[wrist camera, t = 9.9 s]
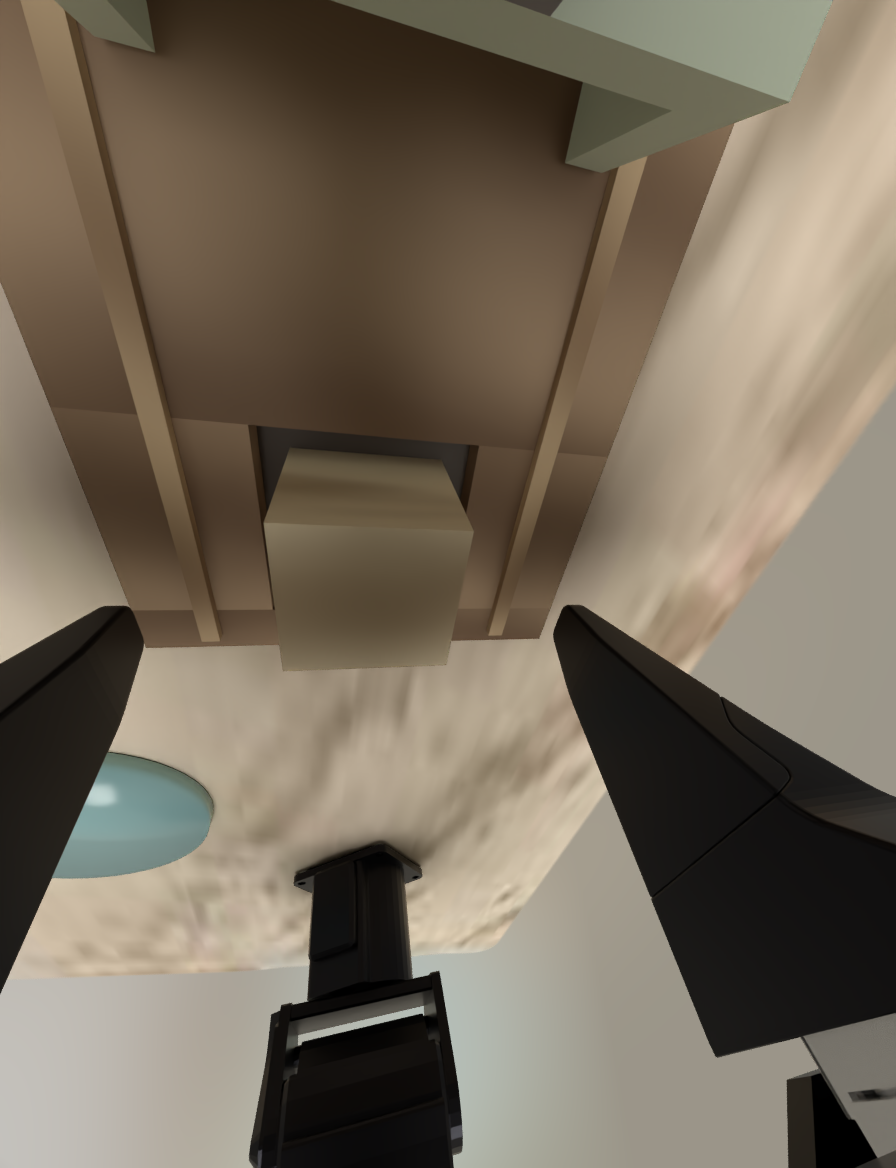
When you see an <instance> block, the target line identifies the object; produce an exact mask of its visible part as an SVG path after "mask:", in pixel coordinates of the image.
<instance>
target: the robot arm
mask: <svg viewBox="0 0 896 1168" xmlns="http://www.w3.org/2000/svg"><path fill="white" fill-rule="evenodd" d="M553 638H554V643H555V646H556V650H557V653H558V657H559V661H560V664H561V668H562V671H563V675H564V678H565V682H566V685H567V689H568V692H569V695H570V698H571V700H572V703H573V706H574V708H575V711H576V713H577V716H578V718H579V721H580V723H581V726H582V728H583V730H584V733H585V735H586V738H587V740H588V743H589V745H590V748H591V750H592V753H593V755H594V758H595V760H596V763H597V765H598V768H599V770H600V773H601V775H602V778H603V780H604V783H605V785H606V788H607V790H608V793H609V795H610V798H611V800H612V803H613V805H614V807H615V810H616V812H617V815H618V817H619V819H620V822H621V825H622V827H623V830H624V832H625V834H626V837H627V840H628V842H629V844H630V847H631V850H632V852H633V855H634V857H635V860H636V862H637V865H638V867H639V869H640V872H641V875H642V877H643V880H644V882H645V884H646V887H647V890H648V892H649V894H650V896H651V897H652V899H651V900H652V903H653V905H654V907H655V910H656V912H657V915H658V917H659V920H660V922H661V925H662V927H663V930H664V932H665V935H666V937H667V940H668V942H669V945H670V947H671V950H672V952H673V955H674V957H675V960H676V962H677V965H678V967H679V969H680V972H681V975H682V977H683V980H684V982H685V984H686V987H687V989H688V992H689V994H690V997H691V999H692V1002H693V1004H694V1007H695V1009H696V1012H697V1014H698V1017H699V1019H700V1022H701V1024H702V1026H703V1029H704V1032H705V1034H706V1037H707V1039H708V1041H709V1044H710V1046H711V1048H712V1050H713V1052H714V1054H715V1056H716V1057H717V1058H718V1057H722V1056H726V1055H730V1054H733V1053H738V1052H742V1051H746V1050H750V1049H754V1048H758V1047H762V1046H766V1045H770V1044H774V1043H778V1042H782V1041H786V1040H790V1039H794V1038H798V1037H801V1039H802V1041H803V1043H804V1045H805V1046H806V1048H807V1050H808V1051H809V1053H810V1055H811V1057H812V1059H813V1060H814V1062H815V1063H816V1065H817V1067H818V1069H817V1070H814V1071H811V1072H809V1073H805V1074H802V1075H799V1076H796V1077H794V1078H791V1079H788V1080H787V1116H788V1117H787V1118H788V1164H789V1165H788V1167H789V1168H896V797H894V796H892V795H889V794H887V793H885V792H883V791H880V790H878V789H876V788H874V787H873V786H871V785H869V784H867V783H865V782H863V781H862V780H860V779H858V778H857V777H855V776H853V775H851V774H850V773H848V772H846V771H845V770H843V769H841V768H839V767H837V766H836V765H834V764H832V763H831V762H829V761H827V760H826V759H824V758H822V757H820V756H819V755H817V754H815V753H813V752H812V751H810V750H808V749H807V748H805V747H803V746H802V745H800V744H798V743H796V742H795V741H793V740H791V739H790V738H788V737H786V736H785V735H783V734H781V733H779V732H778V731H776V730H774V729H773V728H771V727H769V726H768V725H766V724H764V723H763V722H761V721H760V720H758V719H757V718H755V717H753V716H752V715H750V714H748V713H747V712H745V711H744V710H742V709H741V708H739V707H737V706H736V705H735V704H733V703H732V702H730V701H728V700H727V699H725V698H724V697H720V696H719V694H718V693H716V692H715V691H713V690H711V689H710V688H708V687H707V686H705V685H704V684H702V683H701V682H699V681H698V680H696V679H694V678H693V677H691V676H690V675H688V674H687V673H685V672H684V671H682V670H681V669H679V668H678V667H676V666H675V665H673V664H672V663H670V662H669V661H667V660H665V659H664V658H662V657H661V656H659V655H658V654H656V653H655V652H653V651H652V650H650V649H649V648H647V647H645V646H644V645H642V644H641V643H639V642H638V641H636V640H635V639H633V638H632V637H630V636H629V635H627V634H626V633H624V632H622V631H621V630H619V629H618V628H616V627H615V626H613V625H612V624H610V623H609V622H607V621H606V620H604V619H603V618H601V617H599V616H598V615H596V614H595V613H593V612H592V611H590V610H589V609H587V608H586V607H584V606H582V605H566V606H565V607H564V608H563V609H562V611H561V614H560V616H559V619H558V621H557V624H556V626H555V628H554V633H553ZM143 647H144V639H143V635H142V633H141V630H140V628H139V625H138V623H137V620H136V618H135V615H134V613H133V611H132V609H131V608H129V607H127V606H103V607H100V608H98V609H96V610H95V611H93V612H91V613H89V614H87V615H86V616H84V617H82V618H80V619H79V620H77V621H75V622H73V623H71V624H70V625H68V626H66V627H64V628H63V629H61V630H59V631H57V632H56V633H54V634H52V635H50V636H48V637H47V638H45V639H43V640H41V641H40V642H38V643H36V644H34V645H32V646H31V647H29V648H27V649H25V650H24V651H22V652H20V653H18V654H17V655H15V656H13V657H11V658H9V659H8V660H6V661H4V662H2V663H1V664H0V993H1V991H2V989H3V987H4V984H5V982H6V980H7V978H8V975H9V973H10V971H11V969H12V966H13V964H14V962H15V960H16V957H17V955H18V953H19V951H20V948H21V946H22V944H23V942H24V939H25V937H26V935H27V933H28V930H29V928H30V926H31V924H32V921H33V919H34V917H35V915H36V912H37V910H38V908H39V906H40V903H41V901H42V899H43V897H44V894H45V892H46V890H47V888H48V885H49V883H50V881H51V879H52V876H53V874H54V872H55V870H56V867H57V865H58V863H59V861H60V858H61V856H62V854H63V852H64V849H65V847H66V845H67V843H68V840H69V838H70V836H71V834H72V831H73V829H74V827H75V825H76V822H77V820H78V818H79V816H80V813H81V811H82V809H83V807H84V804H85V802H86V800H87V798H88V795H89V793H90V791H91V789H92V786H93V784H94V782H95V780H96V777H97V775H98V773H99V771H100V768H101V766H102V764H103V762H104V759H105V757H106V755H107V753H108V750H109V748H110V746H111V744H112V741H113V739H114V737H115V735H116V732H117V730H118V728H119V725H120V723H121V720H122V717H123V714H124V711H125V708H126V705H127V701H128V698H129V695H130V692H131V688H132V685H133V682H134V678H135V675H136V672H137V668H138V665H139V662H140V658H141V655H142V652H143ZM421 877H422V869H421V868H419V867H418V866H416V865H415V864H414V863H412V862H411V861H409V860H408V859H406V858H405V857H403V856H402V855H400V854H399V853H397V852H396V851H394V850H393V849H391V848H390V847H388V846H387V845H384V844H380V845H375V846H373V847H370V848H367V849H365V850H362V851H359V852H357V853H354V854H351V855H348V856H346V857H343V858H340V859H338V860H335V861H332V862H330V863H327V864H324V865H322V866H319V867H316V868H313V869H311V870H308V871H305V872H303V873H300V874H297V875H296V876H295V877H294V886H296V887H298V888H301V889H303V890H306V891H308V892H311V893H312V908H311V924H310V939H309V954H308V956H309V959H310V965H309V981H308V998H307V1000H308V1002H304V1003H299V1004H294V1005H293V1004H292V1003H288V1004H284V1005H281V1010H280V1011H278V1012H276V1013H274V1014H272V1015H271V1022H270V1031H269V1041H268V1049H267V1057H266V1063H265V1069H264V1075H263V1080H262V1085H261V1091H260V1096H259V1101H258V1107H257V1112H256V1118H255V1123H254V1129H253V1134H252V1139H251V1145H250V1153H249V1161H250V1163H251V1164H252V1166H253V1168H454V1167H453V1155H456V1154H459V1153H461V1152H462V1146H463V1141H462V1139H463V1135H462V1118H461V1107H460V1097H459V1089H458V1081H457V1075H456V1068H455V1063H454V1056H453V1050H452V1045H451V1038H450V1032H449V1026H448V1020H447V1014H446V1008H445V1002H444V996H443V990H442V985H441V978H440V973H439V971H436V972H432V973H430V974H429V975H428V976H423V977H418V978H414V979H413V977H412V976H413V975H412V963H411V951H410V939H409V927H408V915H407V903H406V891H405V884H406V883H409V882H412V881H414V880H417V879H420V878H421ZM420 1006H424V1016H423V1014H418V1015H414V1016H409V1017H405V1018H401V1019H397V1020H392V1021H389V1022H384V1023H380V1024H375V1025H371V1026H367V1027H363V1028H359V1029H354V1030H351V1031H346V1032H342V1033H338V1034H333V1035H330V1036H325V1037H321V1038H317V1039H313V1040H308V1041H304V1042H302V1045H299V1046H298V1035H300V1034H304V1033H309V1032H313V1031H317V1030H322V1029H326V1028H330V1027H335V1026H339V1025H343V1024H347V1023H352V1022H356V1021H360V1020H364V1019H368V1018H373V1017H377V1016H382V1015H386V1014H390V1013H394V1012H398V1011H403V1010H407V1009H412V1008H416V1007H420Z"/></svg>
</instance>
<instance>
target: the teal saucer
mask: <svg viewBox="0 0 896 1168" xmlns="http://www.w3.org/2000/svg"><path fill="white" fill-rule="evenodd" d="M212 815H213V803H212V800H211V798H210V796H209V794H208V793H207V792H206V790H205V789H204V788H203V787H202V786H201V785H199V784H198V783H197V782H196V781H195V780H193V779H191V778H190V777H188V776H187V775H185V774H183V773H181V772H179V771H177V770H175V769H172V768H170V767H167V766H164V765H162V764H159V763H156V762H152V761H149V760H145V759H142V758H137V757H132V756H127V755H122V754H115V753H107V755H106V757H105V759H104V762H103V764H102V766H101V768H100V771H99V773H98V775H97V777H96V780H95V782H94V784H93V786H92V789H91V791H90V793H89V795H88V798H87V800H86V802H85V804H84V807H83V809H82V811H81V813H80V816H79V818H78V820H77V822H76V825H75V827H74V829H73V831H72V834H71V836H70V838H69V840H68V843H67V845H66V847H65V849H64V852H63V854H62V856H61V858H60V861H59V863H58V865H57V867H56V870H55V872H54V874H53V876H52V878H97V877H108V876H118V875H124V874H130V873H136V872H140V871H145V870H149V869H153V868H156V867H160V866H162V865H165V864H168V863H171V862H173V861H176V860H178V859H180V858H182V857H184V856H186V855H187V854H189V853H191V852H192V851H193V850H195V849H196V848H197V847H198V846H199V845H200V844H201V843H202V842H203V841H204V839H205V838H206V836H207V833H208V831H209V827H210V823H211V819H212Z"/></svg>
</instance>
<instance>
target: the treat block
mask: <svg viewBox="0 0 896 1168" xmlns="http://www.w3.org/2000/svg"><path fill="white" fill-rule="evenodd" d="M264 530H265V538H266V545H267V553H268V561H269V568H270V576H271V584H272V591H273V599H274V607H275V614H276V622H277V629H278V637H279V645H280V652H281V660H282V668H283V671H302V670H329V669H355V668H382V667H408V666H435V665H446V663H447V658H448V653H449V648H450V644H451V639H452V634H453V629H454V624H455V620H456V615H457V610H458V605H459V600H460V596H461V591H462V586H463V581H464V576H465V572H466V567H467V562H468V557H469V552H470V548H471V543H472V538H473V533H474V530H473V528H472V526H471V524H470V522H469V519H468V517H467V515H466V513H465V511H464V508H463V506H462V504H461V502H460V500H459V498H458V495H457V493H456V491H455V489H454V487H453V484H452V482H451V480H450V478H449V476H448V473H447V471H446V469H445V467H444V465H443V462H442V460H437V459H424V458H412V457H399V456H387V455H374V454H362V453H349V452H337V451H324V450H312V449H299V448H290V449H289V452H288V455H287V457H286V460H285V463H284V466H283V469H282V472H281V475H280V477H279V480H278V483H277V486H276V489H275V492H274V495H273V497H272V500H271V503H270V506H269V509H268V512H267V514H266V517H265V520H264Z"/></svg>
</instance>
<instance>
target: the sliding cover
mask: <svg viewBox="0 0 896 1168" xmlns="http://www.w3.org/2000/svg"><path fill="white" fill-rule="evenodd" d="M54 1H55V2H56V3H57V4H59V5H60V6H61V7H62V8H63V9H64V10H65V11H66V12H68V13H69V14H70V15H71V16H72V17H73V18H74V19H75V20H77V21H78V22H79V23H80V24H81V25H82V26H83V27H84V28H86V29H87V30H88V31H89V32H90V33H91V34H92V35H93V36H95V37H99V38H102V39H106V40H110V41H114V42H117V43H121V44H125V45H128V46H132V47H136V48H140V49H143V50H147V51H151V52H154V53H155V48H154V42H153V37H152V31H151V25H150V19H149V13H148V8H147V2H146V0H54ZM331 1H334V2H337V3H340V4H344V5H347V6H350V7H353V8H356V9H359V10H362V11H365V12H368V13H371V14H374V15H378V16H381V17H384V18H387V19H390V20H393V21H396V22H399V23H402V24H405V25H408V26H412V27H415V28H418V29H421V30H424V31H427V32H430V33H433V34H436V35H439V36H443V37H446V38H449V39H452V40H455V41H458V42H461V43H464V44H467V45H470V46H473V47H477V48H480V49H483V50H486V51H489V52H492V53H495V54H498V55H501V56H504V57H508V58H511V59H514V60H517V61H520V62H523V63H526V64H529V65H532V66H535V67H538V68H542V69H545V70H548V71H551V72H554V73H557V74H560V75H563V76H566V77H569V78H572V79H576V80H579V81H582V82H583V84H582V89H581V93H580V98H579V102H578V107H577V111H576V115H575V120H574V124H573V129H572V133H571V138H570V142H569V147H568V151H567V156H566V160H565V163H566V164H570V165H574V166H578V167H581V168H585V169H589V170H592V171H596V172H600V173H603V172H606V171H608V170H611V169H614V168H616V167H619V166H622V165H624V164H627V163H630V162H632V161H635V160H638V159H640V158H643V157H646V156H648V155H651V154H653V153H656V152H659V151H661V150H664V149H667V148H669V147H672V146H675V145H677V144H680V143H683V142H685V141H688V140H691V139H693V138H696V137H698V136H701V135H704V134H706V133H709V132H712V131H714V130H717V129H720V128H722V127H725V126H728V125H730V124H733V123H736V122H738V121H741V120H743V119H746V118H749V117H751V116H754V115H757V114H759V113H762V112H765V111H767V110H770V109H773V108H775V107H778V106H781V105H783V104H786V103H788V102H790V100H791V98H792V96H793V93H794V91H795V88H796V86H797V84H798V81H799V79H800V77H801V74H802V72H803V70H804V67H805V65H806V63H807V60H808V58H809V56H810V53H811V51H812V48H813V46H814V44H815V41H816V39H817V37H818V34H819V32H820V30H821V27H822V25H823V23H824V20H825V18H826V15H827V13H828V11H829V8H830V6H831V4H832V1H833V0H331Z"/></svg>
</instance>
